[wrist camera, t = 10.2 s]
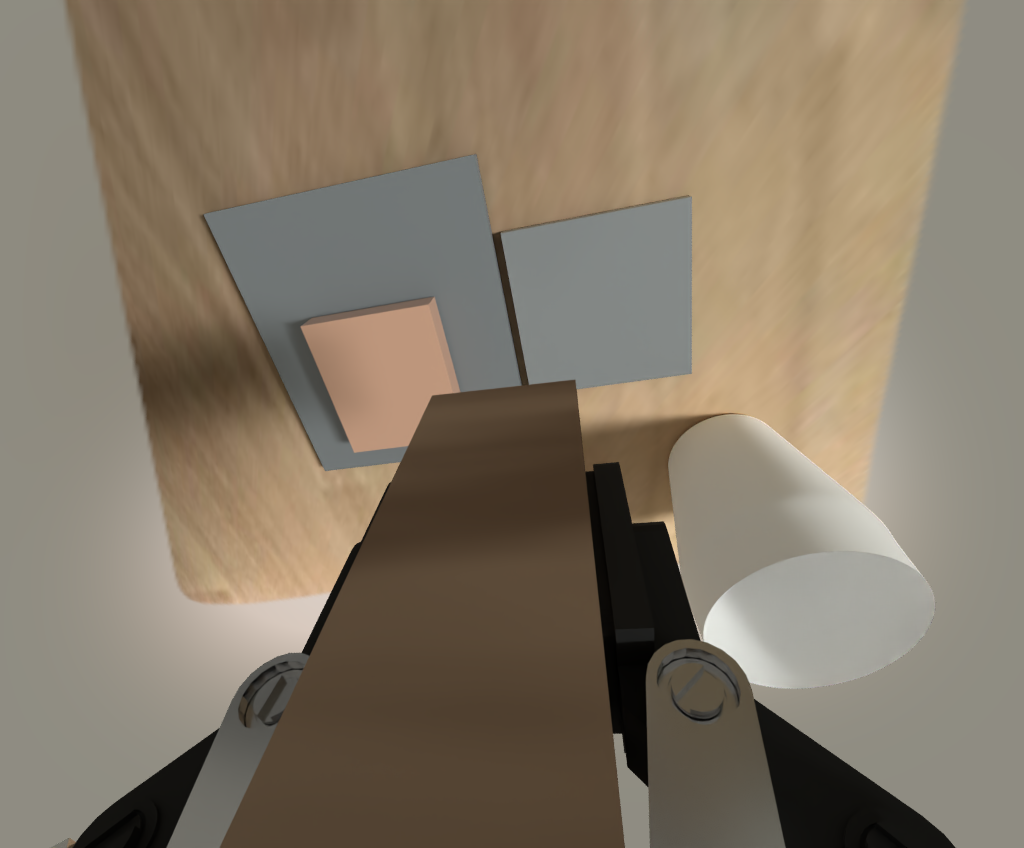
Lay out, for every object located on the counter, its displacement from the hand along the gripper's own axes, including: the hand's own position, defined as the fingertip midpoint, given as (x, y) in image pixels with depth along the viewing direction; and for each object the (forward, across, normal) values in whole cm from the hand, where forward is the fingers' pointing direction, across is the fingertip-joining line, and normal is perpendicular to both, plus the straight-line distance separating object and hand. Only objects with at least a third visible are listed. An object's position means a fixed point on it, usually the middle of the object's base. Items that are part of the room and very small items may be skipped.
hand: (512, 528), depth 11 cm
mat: (+17, +8, +1) cm, 19 cm away
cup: (+18, -10, +11) cm, 23 cm away
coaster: (+17, -4, +1) cm, 18 cm away
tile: (+16, +9, -1) cm, 18 cm away
